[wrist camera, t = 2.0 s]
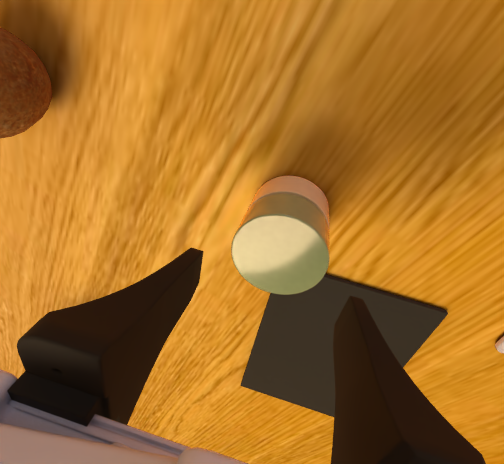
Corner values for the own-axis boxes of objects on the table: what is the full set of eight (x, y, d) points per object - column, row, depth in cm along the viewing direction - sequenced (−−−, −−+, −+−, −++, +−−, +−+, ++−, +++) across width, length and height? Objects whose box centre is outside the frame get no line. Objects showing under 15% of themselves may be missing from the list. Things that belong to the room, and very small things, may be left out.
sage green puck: (342, 205, 17) (344, 231, 15) (313, 275, 20) (311, 306, 18) (252, 180, 18) (239, 201, 15) (236, 252, 20) (224, 279, 18)
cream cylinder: (341, 186, 20) (342, 205, 17) (315, 250, 22) (313, 275, 20) (261, 164, 20) (252, 180, 18) (246, 230, 23) (236, 252, 20)
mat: (446, 309, 23) (448, 313, 22) (355, 420, 33) (355, 424, 32) (281, 260, 24) (280, 263, 23) (241, 382, 34) (240, 385, 33)
